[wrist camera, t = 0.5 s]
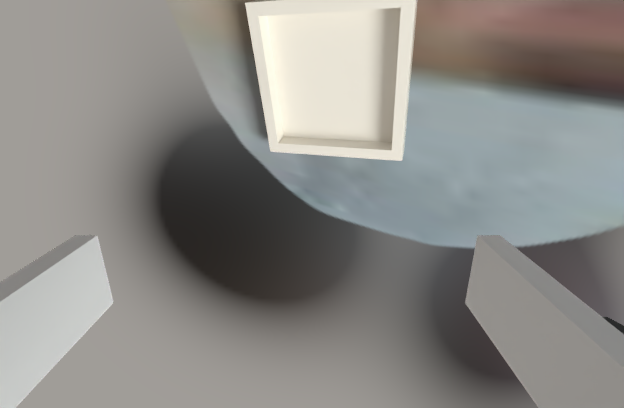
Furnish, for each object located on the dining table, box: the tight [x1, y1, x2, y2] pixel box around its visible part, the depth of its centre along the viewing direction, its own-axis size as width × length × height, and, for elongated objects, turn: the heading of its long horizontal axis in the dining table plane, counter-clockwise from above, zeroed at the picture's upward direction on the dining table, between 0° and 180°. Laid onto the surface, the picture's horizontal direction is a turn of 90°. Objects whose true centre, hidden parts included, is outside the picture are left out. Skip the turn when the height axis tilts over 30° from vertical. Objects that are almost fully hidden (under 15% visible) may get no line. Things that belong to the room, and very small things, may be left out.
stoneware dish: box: [245, 0, 417, 161], centre depth 35 cm, size 16×16×3 cm
